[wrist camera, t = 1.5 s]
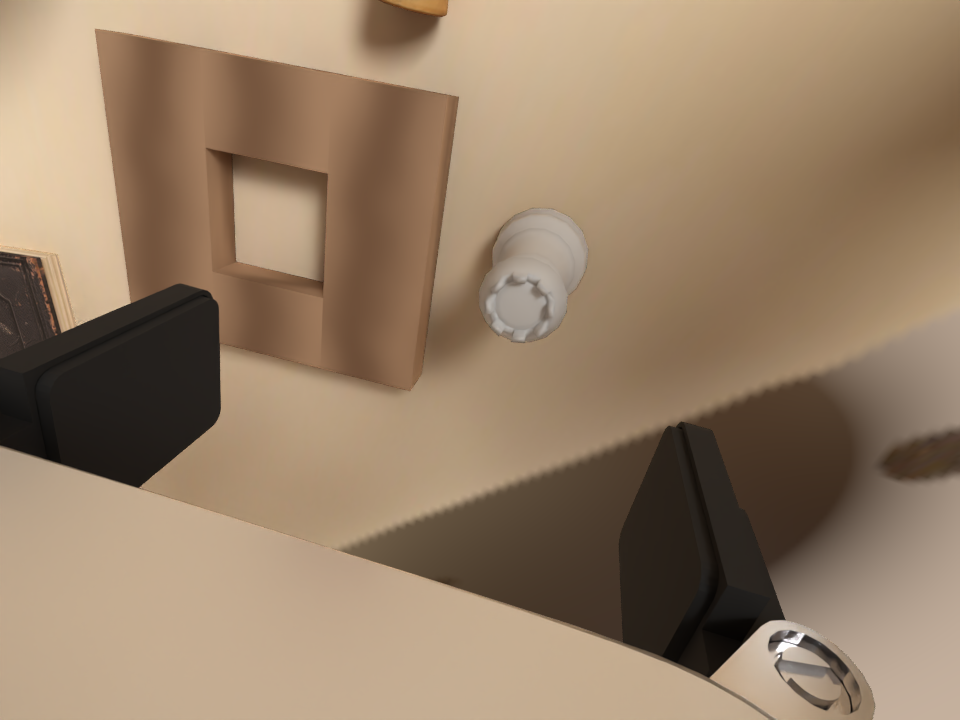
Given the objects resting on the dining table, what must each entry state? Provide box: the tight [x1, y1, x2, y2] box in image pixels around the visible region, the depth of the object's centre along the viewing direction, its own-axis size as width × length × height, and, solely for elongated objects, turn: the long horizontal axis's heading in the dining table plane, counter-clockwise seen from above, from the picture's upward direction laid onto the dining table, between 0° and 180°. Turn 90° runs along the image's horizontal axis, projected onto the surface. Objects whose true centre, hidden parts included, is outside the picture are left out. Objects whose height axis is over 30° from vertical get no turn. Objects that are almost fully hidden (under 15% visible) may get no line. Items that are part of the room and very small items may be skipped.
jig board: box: [95, 29, 459, 391], centre depth 27 cm, size 16×14×2 cm
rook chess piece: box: [479, 208, 588, 343], centre depth 23 cm, size 4×4×8 cm
